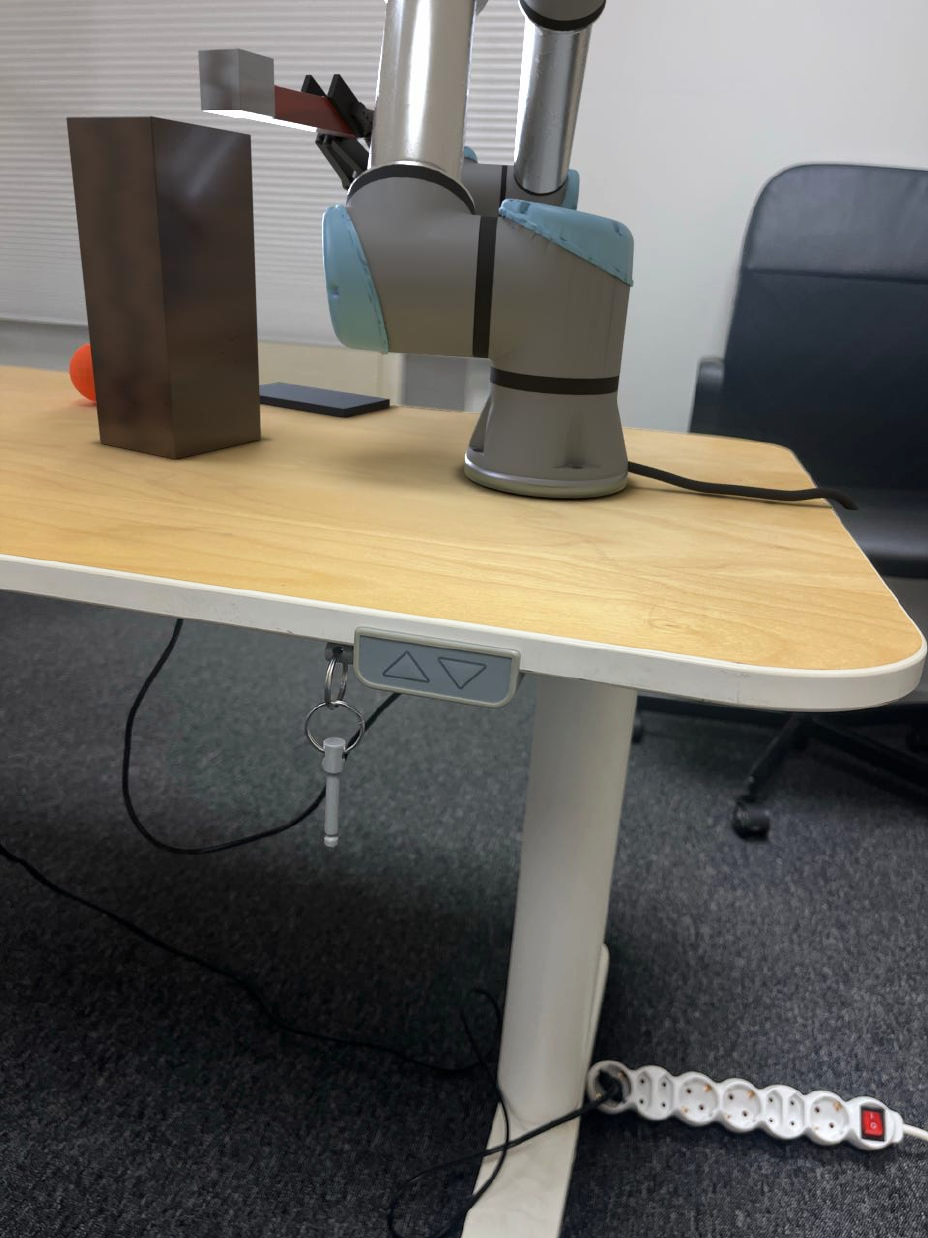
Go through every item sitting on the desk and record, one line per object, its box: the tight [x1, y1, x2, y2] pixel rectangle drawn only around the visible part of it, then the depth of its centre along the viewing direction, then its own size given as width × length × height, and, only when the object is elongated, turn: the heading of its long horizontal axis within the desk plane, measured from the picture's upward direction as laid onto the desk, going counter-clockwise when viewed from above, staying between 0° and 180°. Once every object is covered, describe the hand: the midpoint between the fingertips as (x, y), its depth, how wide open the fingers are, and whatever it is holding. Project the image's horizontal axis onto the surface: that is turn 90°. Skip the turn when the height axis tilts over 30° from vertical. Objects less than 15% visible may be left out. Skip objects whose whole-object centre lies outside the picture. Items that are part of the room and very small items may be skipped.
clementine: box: [68, 342, 96, 403], centre depth 104 cm, size 8×7×7 cm
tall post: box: [65, 115, 262, 460], centre depth 84 cm, size 10×12×28 cm
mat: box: [259, 381, 391, 418], centre depth 114 cm, size 18×10×1 cm, turn 61°
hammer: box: [197, 47, 375, 141], centre depth 93 cm, size 5×24×5 cm, turn 151°
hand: (319, 85), depth 95 cm, fingers closed on hammer, 3 cm apart
